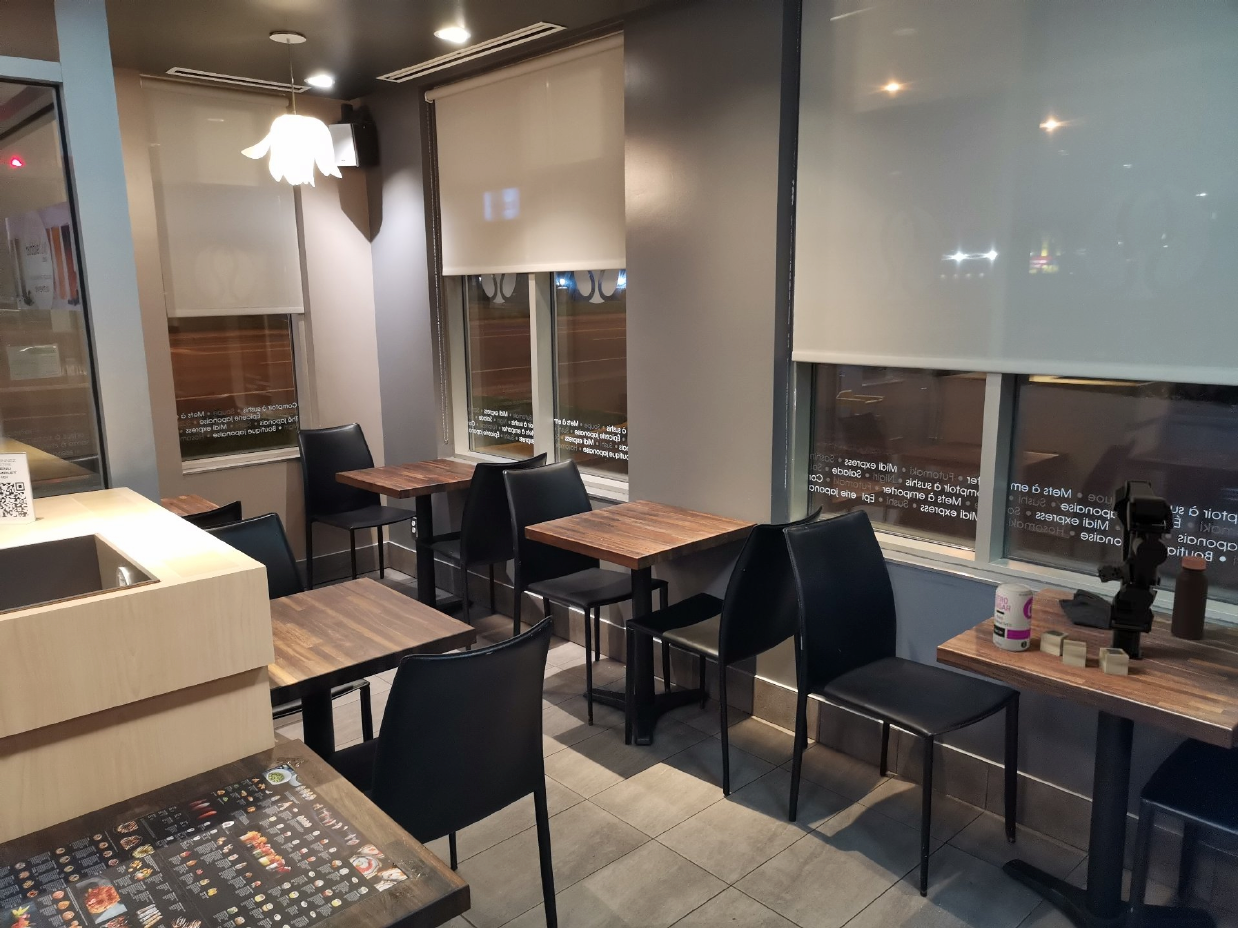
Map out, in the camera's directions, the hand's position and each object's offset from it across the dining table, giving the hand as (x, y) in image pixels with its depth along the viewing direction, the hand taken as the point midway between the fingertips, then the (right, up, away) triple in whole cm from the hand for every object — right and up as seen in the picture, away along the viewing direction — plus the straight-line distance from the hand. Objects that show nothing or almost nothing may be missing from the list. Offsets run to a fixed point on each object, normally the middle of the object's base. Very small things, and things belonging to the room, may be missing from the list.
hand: (1137, 622), depth 190 cm
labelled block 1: (-10, -10, +17) cm, 22 cm away
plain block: (-9, -11, +10) cm, 17 cm away
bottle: (+28, -8, +26) cm, 39 cm away
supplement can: (-19, -10, +20) cm, 29 cm away
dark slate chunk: (+12, -6, +41) cm, 43 cm away
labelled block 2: (-3, -12, +5) cm, 13 cm away
